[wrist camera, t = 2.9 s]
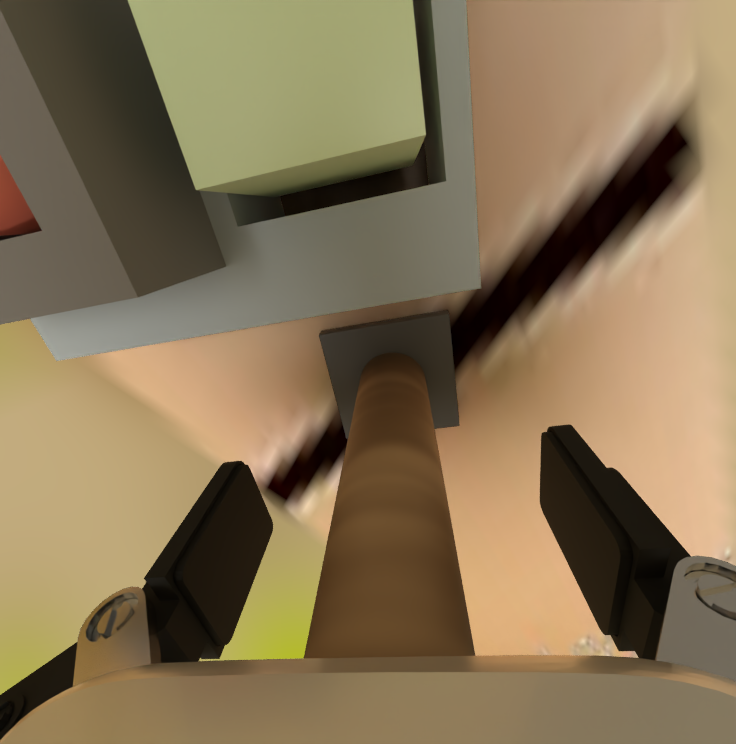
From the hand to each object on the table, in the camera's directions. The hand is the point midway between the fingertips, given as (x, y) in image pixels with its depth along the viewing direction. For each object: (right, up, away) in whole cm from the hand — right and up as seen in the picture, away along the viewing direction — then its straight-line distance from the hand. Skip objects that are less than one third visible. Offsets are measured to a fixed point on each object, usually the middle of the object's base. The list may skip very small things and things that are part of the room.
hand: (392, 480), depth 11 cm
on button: (-2, +12, -1) cm, 12 cm away
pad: (0, +3, +6) cm, 7 cm away
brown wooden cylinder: (0, +3, +6) cm, 7 cm away
